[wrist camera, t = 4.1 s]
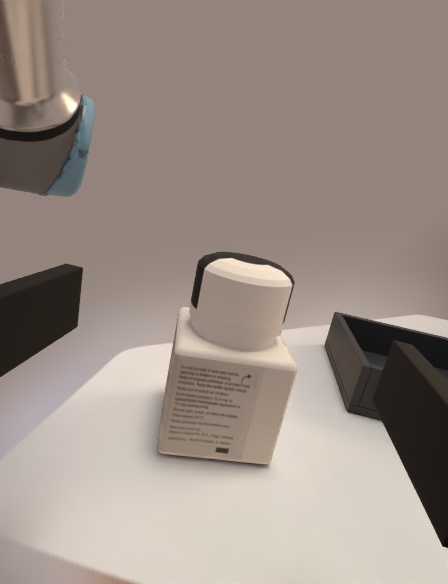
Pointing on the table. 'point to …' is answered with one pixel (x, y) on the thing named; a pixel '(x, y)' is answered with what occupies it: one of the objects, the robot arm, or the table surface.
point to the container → (229, 363)
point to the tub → (373, 356)
